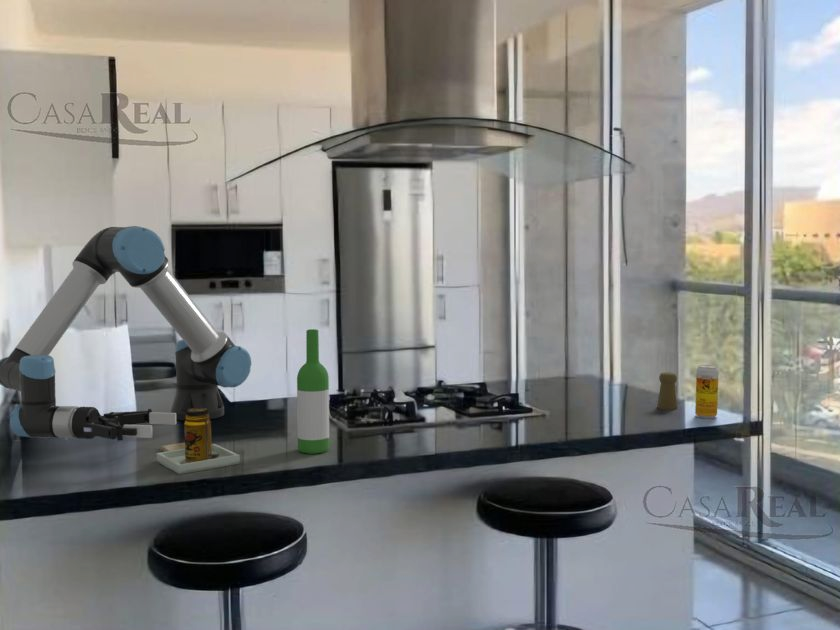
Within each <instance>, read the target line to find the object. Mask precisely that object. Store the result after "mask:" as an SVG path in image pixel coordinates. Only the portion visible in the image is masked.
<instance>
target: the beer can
mask: <svg viewBox="0 0 840 630" xmlns="http://www.w3.org/2000/svg"><path fill="white" fill-rule="evenodd" d="M719 372H720V371H719V368H718V366H717V365H712V364H700V365H698V366H697V368H696V376H695V378H696V379H695V380H696V381H695V410H694V413H695V415H696V416H698V417H697V418H700V417H701V419H714V417H715V418H716V416H718V400H719V399H718V397H719V395H718V394H719Z"/></svg>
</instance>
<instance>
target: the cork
mask: <svg viewBox="0 0 840 630" xmlns="http://www.w3.org/2000/svg"><path fill="white" fill-rule="evenodd" d="M658 378H659V379H658V380H659V381H660V387H659V392H658V400H657V406H656V408H657V407H658V408H657V409H661V410H668V411H669V410H671V411H672V410H677V409H678V402H677V393H676V383H677V379H678V377H677V375H676V373H674V372H669V371H663V372H662V373H660V374H659V377H658Z"/></svg>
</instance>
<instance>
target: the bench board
mask: <svg viewBox="0 0 840 630" xmlns="http://www.w3.org/2000/svg"><path fill="white" fill-rule="evenodd" d="M160 447H161V449H160V451H162V452H167V451H173V450H179V449H185V442H180V443H179V442H178V443H173V444H172V443H171V444H166V445H161V446H160Z"/></svg>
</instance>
